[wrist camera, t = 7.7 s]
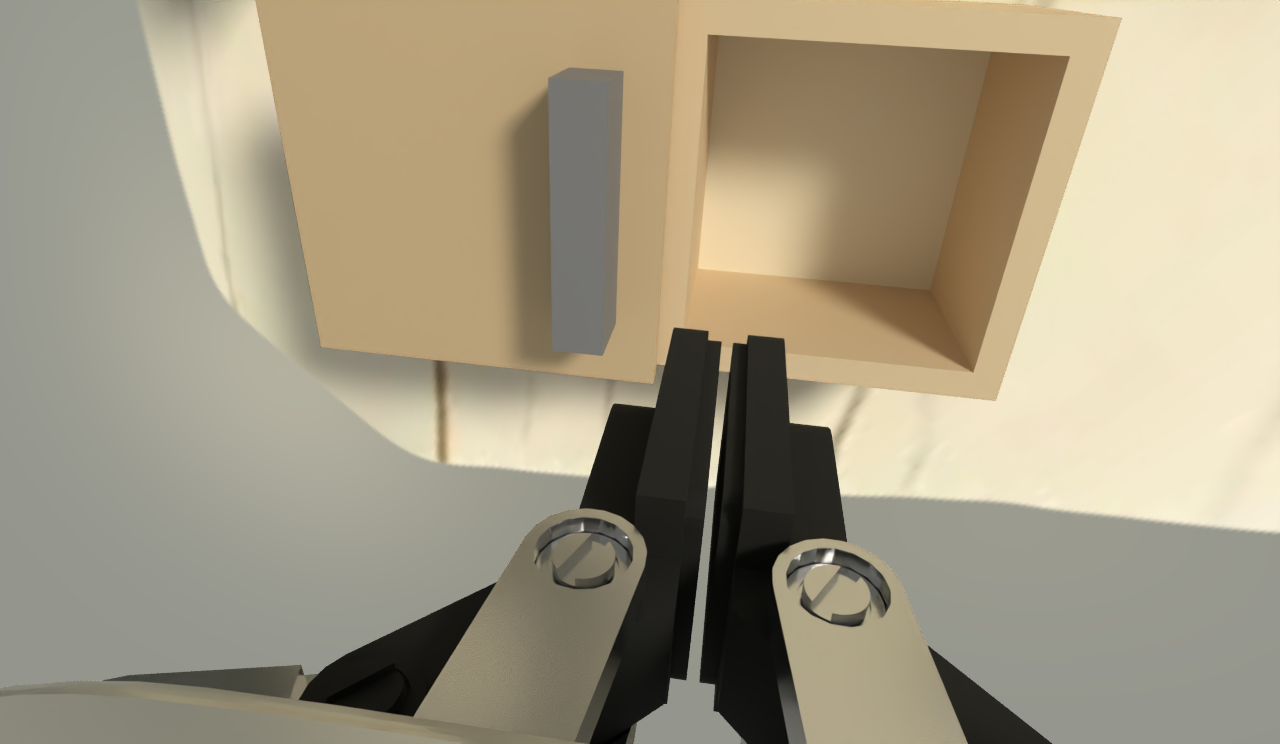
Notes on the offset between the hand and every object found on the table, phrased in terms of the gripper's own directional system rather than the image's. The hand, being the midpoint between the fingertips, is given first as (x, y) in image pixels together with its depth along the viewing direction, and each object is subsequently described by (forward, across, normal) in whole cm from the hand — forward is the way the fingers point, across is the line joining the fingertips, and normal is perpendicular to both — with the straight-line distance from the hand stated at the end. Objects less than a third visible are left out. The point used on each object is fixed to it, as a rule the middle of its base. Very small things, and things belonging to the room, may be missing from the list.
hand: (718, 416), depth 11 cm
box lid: (+13, +8, +1) cm, 16 cm away
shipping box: (+22, -4, +1) cm, 22 cm away
